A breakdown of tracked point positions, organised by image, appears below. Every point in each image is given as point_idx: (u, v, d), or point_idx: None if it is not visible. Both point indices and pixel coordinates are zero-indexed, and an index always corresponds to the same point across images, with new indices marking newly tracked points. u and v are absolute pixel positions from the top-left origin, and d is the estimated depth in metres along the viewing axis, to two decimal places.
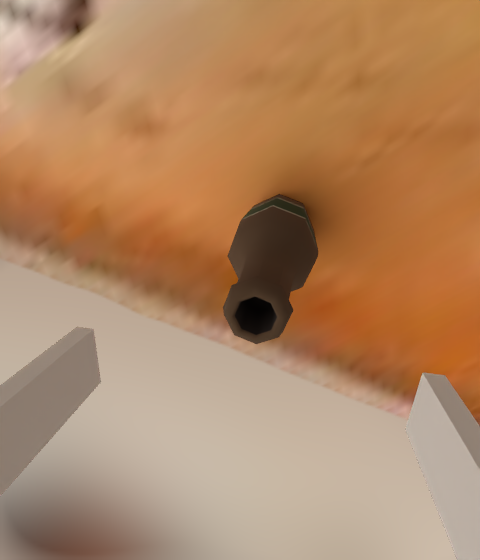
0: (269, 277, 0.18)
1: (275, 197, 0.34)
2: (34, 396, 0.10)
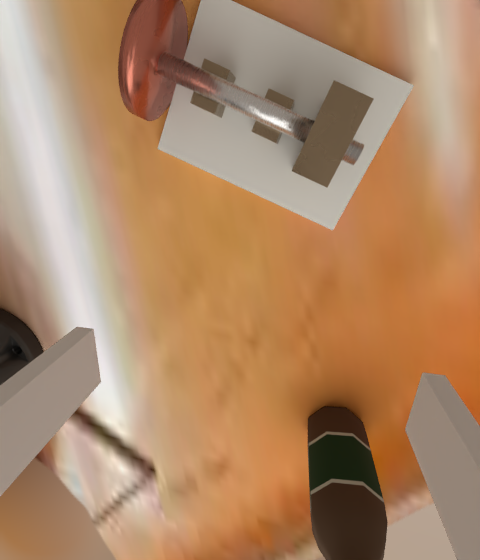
0: None
1: (308, 440, 0.40)
2: (34, 396, 0.10)
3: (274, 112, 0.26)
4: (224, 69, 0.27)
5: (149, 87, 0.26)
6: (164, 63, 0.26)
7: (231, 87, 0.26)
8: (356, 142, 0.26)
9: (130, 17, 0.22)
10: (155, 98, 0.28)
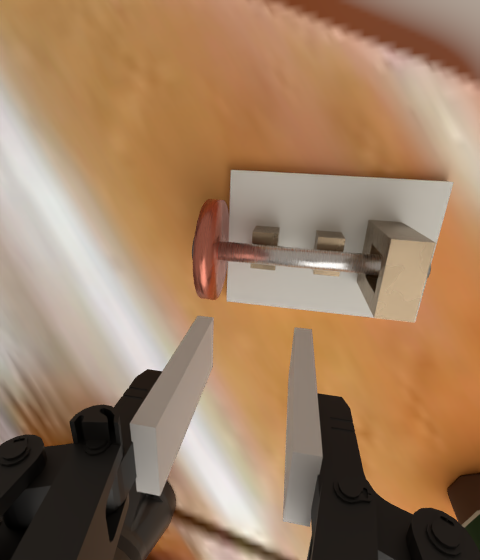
0: None
1: (459, 520, 0.38)
2: (191, 374, 0.12)
3: (334, 262, 0.27)
4: (273, 234, 0.29)
5: (216, 275, 0.29)
6: (223, 253, 0.29)
7: (287, 253, 0.28)
8: None
9: (195, 247, 0.25)
10: (220, 276, 0.31)
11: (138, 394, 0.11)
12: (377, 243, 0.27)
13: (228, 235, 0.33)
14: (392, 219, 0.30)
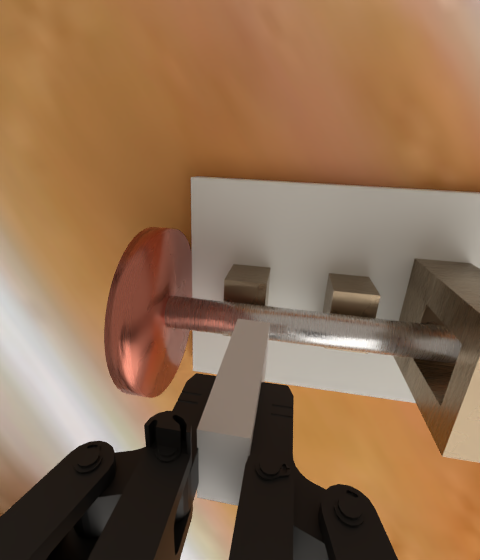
0: None
1: None
2: None
3: (363, 340, 0.16)
4: (258, 285, 0.18)
5: (164, 354, 0.18)
6: (173, 319, 0.17)
7: (281, 322, 0.16)
8: None
9: (107, 324, 0.14)
10: (173, 349, 0.19)
11: (193, 399, 0.11)
12: (442, 311, 0.15)
13: (191, 278, 0.21)
14: (454, 258, 0.18)
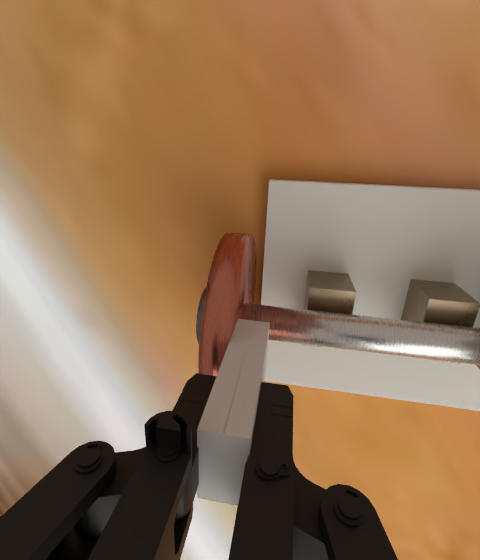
0: None
1: None
2: None
3: (458, 350, 0.15)
4: (347, 293, 0.17)
5: None
6: None
7: (368, 332, 0.15)
8: None
9: (203, 337, 0.13)
10: None
11: (193, 399, 0.11)
12: None
13: (253, 283, 0.21)
14: None
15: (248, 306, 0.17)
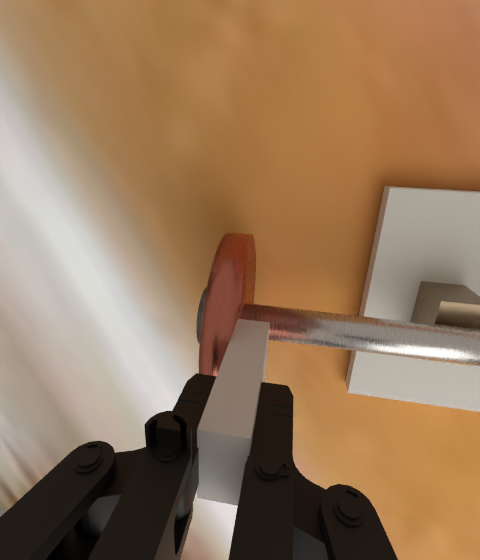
0: None
1: None
2: None
3: (457, 351, 0.15)
4: None
5: None
6: None
7: (368, 332, 0.16)
8: None
9: (203, 336, 0.13)
10: None
11: (193, 399, 0.11)
12: None
13: (253, 284, 0.21)
14: None
15: (248, 306, 0.17)
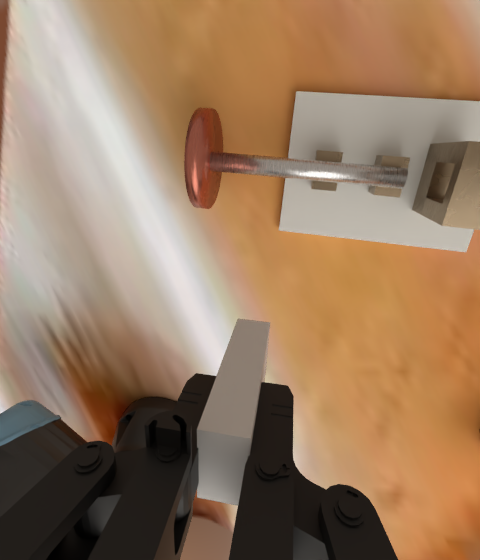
0: None
1: None
2: None
3: (318, 169, 0.29)
4: (338, 153, 0.30)
5: (208, 184, 0.31)
6: (214, 161, 0.31)
7: (274, 161, 0.30)
8: (399, 169, 0.28)
9: (187, 143, 0.27)
10: (211, 188, 0.33)
11: (193, 399, 0.11)
12: (446, 157, 0.27)
13: None
14: None
15: (214, 152, 0.31)
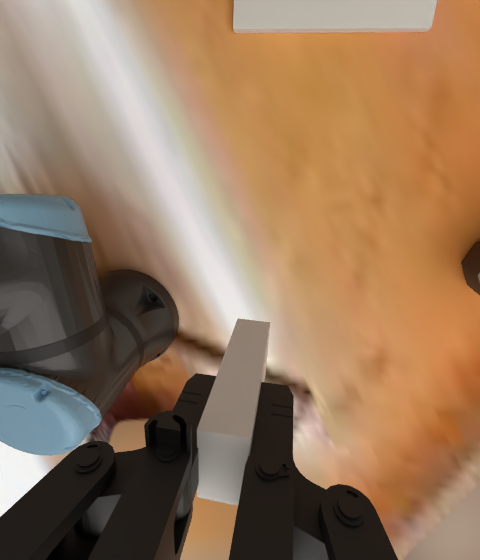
0: None
1: (475, 274, 0.37)
2: None
3: None
4: None
5: None
6: None
7: None
8: None
9: None
10: None
11: (193, 399, 0.11)
12: None
13: None
14: None
15: None
